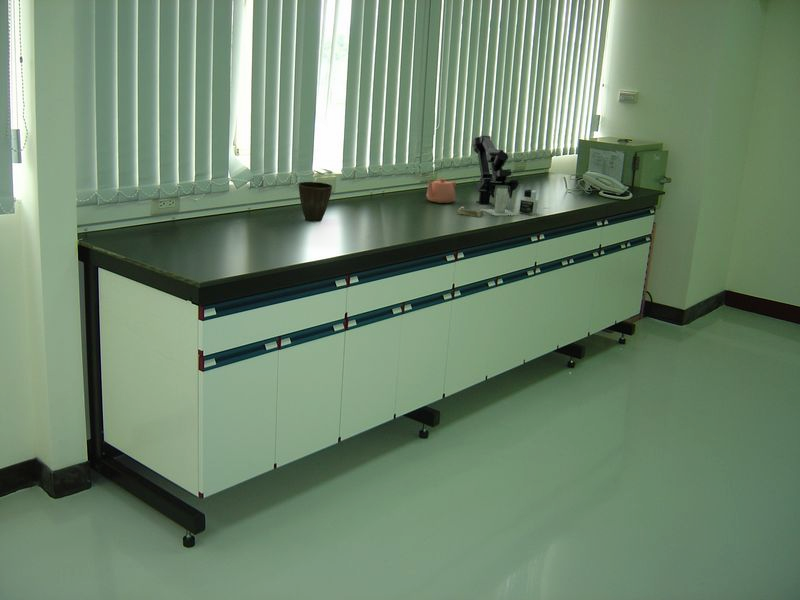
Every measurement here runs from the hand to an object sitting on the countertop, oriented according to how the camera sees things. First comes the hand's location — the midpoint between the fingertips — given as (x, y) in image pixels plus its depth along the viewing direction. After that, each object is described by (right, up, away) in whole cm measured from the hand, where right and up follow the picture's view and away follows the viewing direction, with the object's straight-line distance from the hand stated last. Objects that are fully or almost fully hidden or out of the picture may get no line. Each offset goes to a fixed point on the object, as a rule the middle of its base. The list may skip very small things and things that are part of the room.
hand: (502, 197), depth 428 cm
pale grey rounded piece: (-1, -7, +3) cm, 8 cm away
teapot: (-31, 0, +22) cm, 38 cm away
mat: (-1, -7, +4) cm, 8 cm away
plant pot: (-91, -16, -46) cm, 103 cm away
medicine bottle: (+14, -7, +9) cm, 18 cm away
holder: (-17, -9, -5) cm, 19 cm away
